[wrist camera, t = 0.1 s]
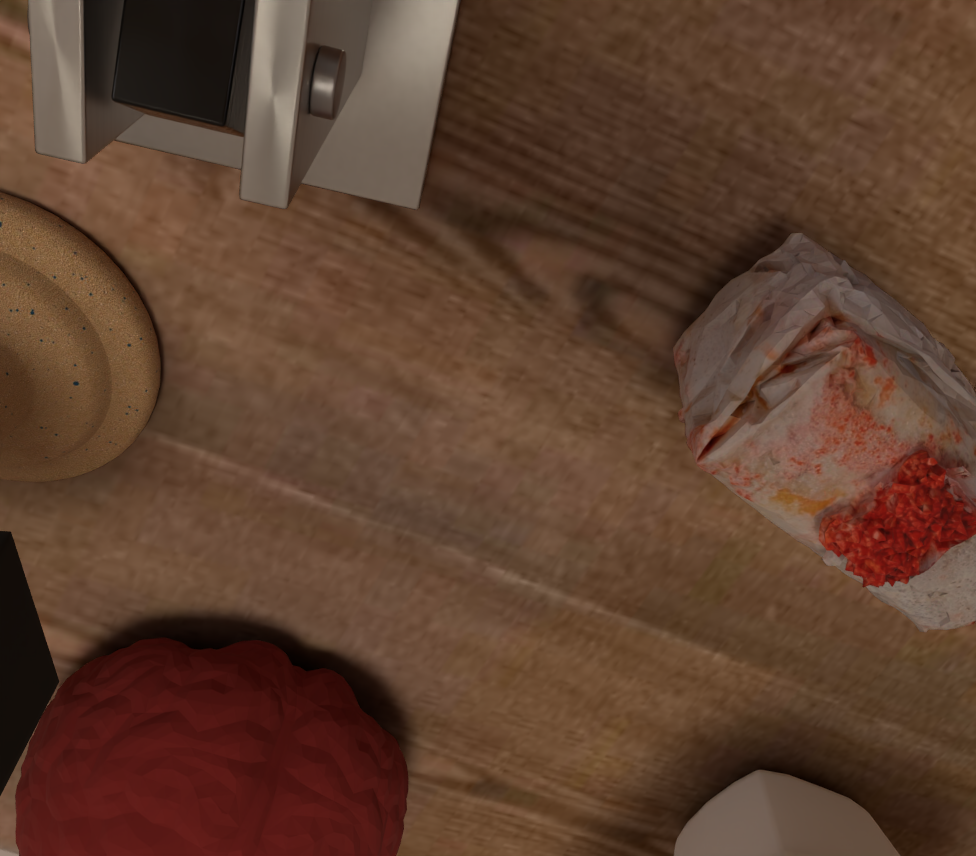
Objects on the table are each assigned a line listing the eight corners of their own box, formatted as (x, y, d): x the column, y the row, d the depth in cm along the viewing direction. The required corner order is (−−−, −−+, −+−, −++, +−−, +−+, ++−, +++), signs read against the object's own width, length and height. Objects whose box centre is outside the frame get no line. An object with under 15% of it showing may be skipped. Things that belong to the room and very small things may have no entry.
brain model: (445, 659, 52) (501, 834, 38) (300, 893, 54) (301, 1142, 40) (146, 522, 47) (82, 666, 33) (-4, 787, 49) (-126, 1031, 35)
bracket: (132, -327, 24) (-172, -437, 13) (504, -219, 25) (502, -242, 14) (127, 127, 30) (-77, 297, 20) (422, 195, 31) (378, 390, 21)
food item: (627, 350, 35) (664, 516, 27) (785, 188, 31) (884, 323, 23) (863, 520, 39) (957, 706, 31) (1025, 396, 36) (1180, 570, 27)
